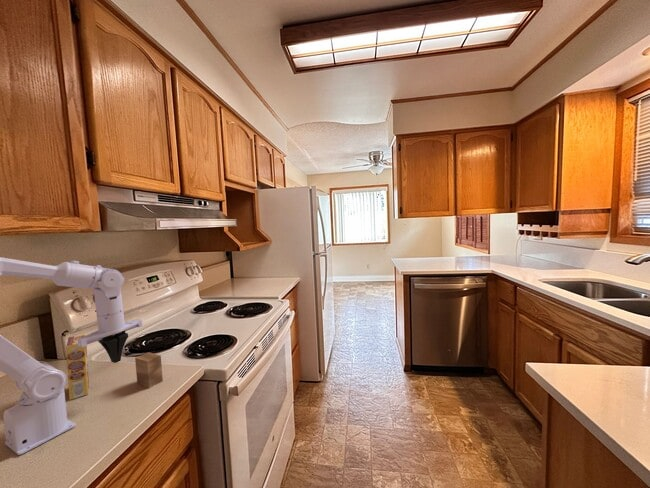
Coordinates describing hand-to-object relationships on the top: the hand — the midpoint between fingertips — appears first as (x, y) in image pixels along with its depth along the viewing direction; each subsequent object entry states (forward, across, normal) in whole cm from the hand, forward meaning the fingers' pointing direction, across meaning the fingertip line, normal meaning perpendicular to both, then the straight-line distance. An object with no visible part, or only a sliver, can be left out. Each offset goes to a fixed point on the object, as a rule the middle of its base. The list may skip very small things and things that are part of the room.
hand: (116, 361), depth 76 cm
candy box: (+10, +3, -15) cm, 19 cm away
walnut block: (+11, -8, 0) cm, 13 cm away
